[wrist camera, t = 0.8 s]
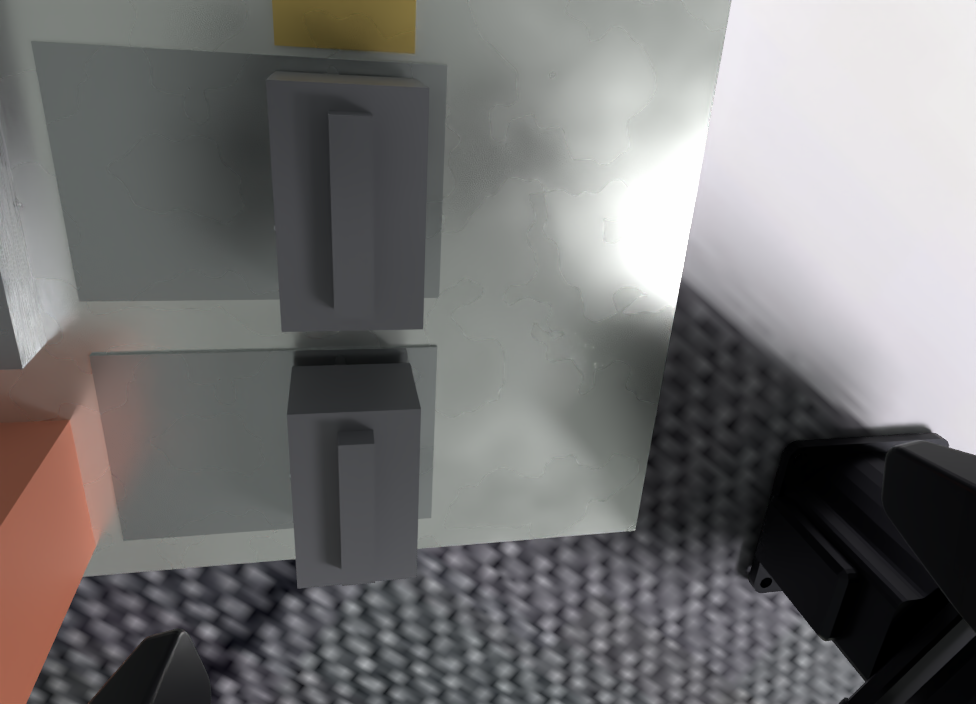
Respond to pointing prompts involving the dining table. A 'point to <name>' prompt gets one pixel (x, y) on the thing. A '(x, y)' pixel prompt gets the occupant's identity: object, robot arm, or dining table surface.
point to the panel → (254, 272)
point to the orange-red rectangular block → (38, 546)
